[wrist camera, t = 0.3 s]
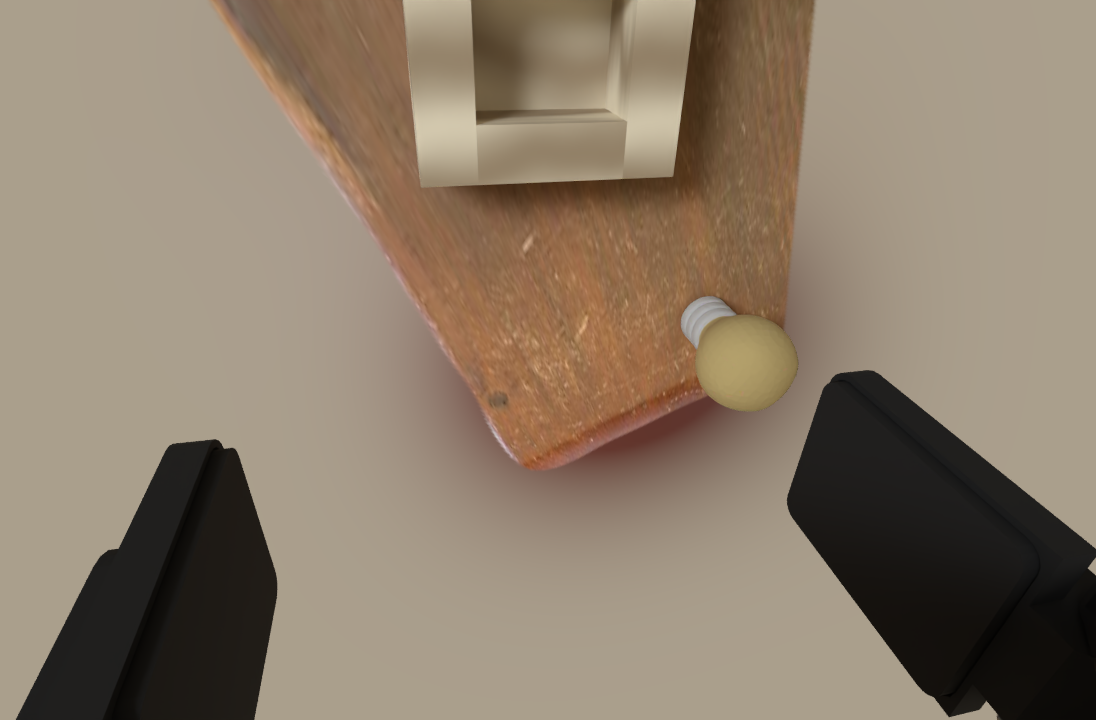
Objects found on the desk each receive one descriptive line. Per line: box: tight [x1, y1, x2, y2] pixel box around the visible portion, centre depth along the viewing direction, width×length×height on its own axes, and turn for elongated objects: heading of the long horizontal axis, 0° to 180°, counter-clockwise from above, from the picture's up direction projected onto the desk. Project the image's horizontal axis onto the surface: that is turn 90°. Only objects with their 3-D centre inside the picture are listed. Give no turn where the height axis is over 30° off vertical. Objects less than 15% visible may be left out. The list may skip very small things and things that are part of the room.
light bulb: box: [681, 296, 798, 411], centre depth 41 cm, size 6×6×10 cm
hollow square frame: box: [402, 0, 696, 188], centre depth 31 cm, size 12×14×5 cm
